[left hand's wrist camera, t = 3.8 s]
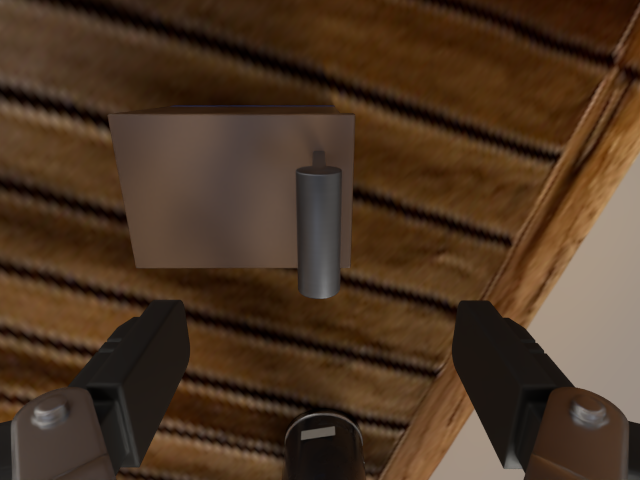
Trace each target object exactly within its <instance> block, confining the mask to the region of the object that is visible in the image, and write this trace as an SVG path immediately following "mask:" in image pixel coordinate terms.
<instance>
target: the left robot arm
mask: <svg viewBox="0 0 640 480" xmlns="http://www.w3.org/2000/svg"><path fill="white" fill-rule="evenodd" d="M189 356H190V343H189V336H188V329H187V322H186V315H185V308H184V304H183V302H182V301H181V300H153V301H152V302H151V303H150V305H149V306H148V307H147V309H146V310H145V311H144V312H143V314H142V315H141V316H140V317H133V318H132V319H130V320H128V321H127V322H125V323H124V324H122V325H121V326H119V327H118V328H117V329H116V330H115V331H114V332H113V334H112V335H111V336H110V337H109V338H108V340H107V342H105V343H104V344H103V345H102V347H101V348H100V349H99V352H98V353H96V354H95V355H94V356H93V357H92V358H91V360H90V361H89V362H88V363H87V364H86V366H85V367H84V368H83V369H82V370H81V372H80V373H79V374H78V375H77V376H76V377H75V379H74V380H73V381H72V382H71V383H70V385H69V386H68V387H65V388H60V389H56V390H53V391H50V392H47V393H45V394H42V395H40V396H38V397H37V398H35V399H33V400H32V401H30V402H29V403H27V404H26V405H25V406H24V407H23V408H21V409H20V410H19V412H18V413H17V414H16V415H15V417H14V418H13V420H12V421H7V422H3V423H0V480H116V475H117V473H118V471H119V469H120V467H140V465H141V462H142V460H143V458H144V456H145V454H146V452H147V450H148V448H149V446H150V444H151V441H152V439H153V437H154V435H155V433H156V431H157V429H158V427H159V425H160V423H161V420H162V418H163V416H164V414H165V412H166V410H167V408H168V406H169V404H170V402H171V399H172V397H173V395H174V393H175V391H176V389H177V387H178V385H179V383H180V381H181V378H182V376H183V374H184V372H185V370H186V368H187V365H188V362H189ZM452 357H453V363H454V366H455V369H456V371H457V373H458V375H459V377H460V379H461V381H462V383H463V385H464V387H465V389H466V392H467V394H468V396H469V398H470V400H471V402H472V404H473V406H474V408H475V410H476V412H477V414H478V416H479V418H480V420H481V423H482V425H483V427H484V429H485V431H486V433H487V435H488V437H489V439H490V441H491V443H492V445H493V448H494V450H495V452H496V454H497V456H498V458H499V460H500V462H501V464H502V466H503V468H504V469H523V470H524V472H525V477H524V480H640V424H638V423H634V422H630V421H628V420H627V418H626V417H625V415H624V414H623V413H622V412H621V410H620V409H619V408H617V407H616V406H615V405H614V404H613V403H611V402H610V401H608V400H607V399H605V398H603V397H602V396H600V395H597V394H595V393H593V392H590V391H587V390H584V389H580V388H575V387H574V385H573V384H572V383H571V382H570V381H569V380H568V378H567V377H566V376H565V375H564V374H563V373H562V371H561V370H560V369H559V368H558V367H557V365H556V364H555V363H554V362H553V361H552V360H551V358H550V357H549V356H548V355H547V354H544V350H543V349H542V348H541V347H540V346H539V344H538V343H535V340H534V338H533V337H532V336H531V335H530V334H529V333H528V331H527V330H526V329H525V328H524V327H522V326H521V325H519V324H517V323H516V322H514V321H513V320H511V319H510V318H502V316H501V315H500V314H499V313H498V311H497V310H496V309H495V307H494V306H493V305H492V304H491V303H490V302H489V301H460V303H459V305H458V309H457V316H456V323H455V330H454V337H453V343H452ZM362 446H363V440H362V433H361V430H360V428H359V426H358V424H357V423H356V422H355V421H354V420H353V419H352V418H351V417H349V416H348V415H346V414H344V413H341V412H339V411H335V410H329V409H319V410H313V411H309V412H306V413H304V414H302V415H300V416H298V417H297V418H295V419H294V420H293V421H292V422H291V423H290V425H289V426H288V428H287V430H286V434H285V452H284V462H283V471H282V480H366V474H365V465H364V456H363V448H362Z"/></svg>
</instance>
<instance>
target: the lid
mask: <svg viewBox="0 0 640 480" xmlns="http://www.w3.org/2000/svg"><path fill="white" fill-rule="evenodd" d="M108 120H109V126H110V131H111V136H112V142H113V147H114V152H115V158H116V163H117V168H118V174H119V179H120V184H121V190H122V195H123V200H124V206H125V211H126V216H127V222H128V227H129V232H130V238H131V243H132V248H133V254H134V259H135V264H136V268H298V290H299V292H300V293H301V294H302V295H304V296H306V297H309V298H314V299H323V298H329V297H332V296H334V295H336V294H337V293H338V292H339V290H340V268H350V267H351V235H352V203H353V171H354V139H355V114H353V113H114V114H108Z"/></svg>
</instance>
